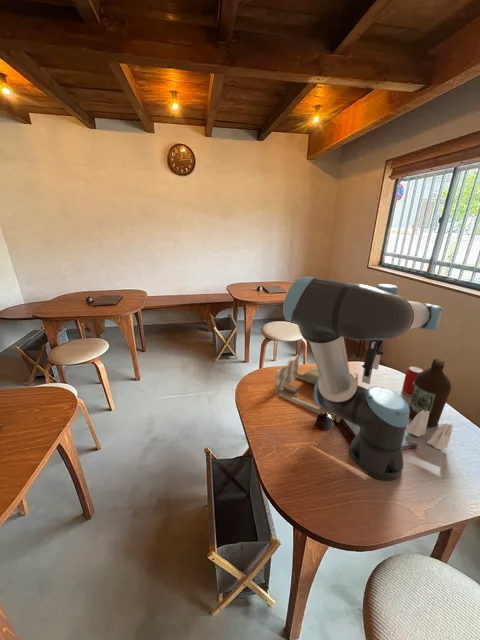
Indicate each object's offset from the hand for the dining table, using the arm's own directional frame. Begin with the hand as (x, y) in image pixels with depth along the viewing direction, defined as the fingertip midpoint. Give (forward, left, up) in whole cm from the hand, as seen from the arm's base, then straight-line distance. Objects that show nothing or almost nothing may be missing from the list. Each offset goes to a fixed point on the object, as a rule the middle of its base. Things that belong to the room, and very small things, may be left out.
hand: (370, 375), depth 107 cm
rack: (-9, +18, -12) cm, 24 cm away
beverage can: (+18, -14, -13) cm, 26 cm away
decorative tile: (-7, +16, -7) cm, 19 cm away
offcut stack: (-16, +27, -13) cm, 34 cm away
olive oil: (+2, -20, -13) cm, 24 cm away
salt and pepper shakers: (-10, -22, -13) cm, 27 cm away
